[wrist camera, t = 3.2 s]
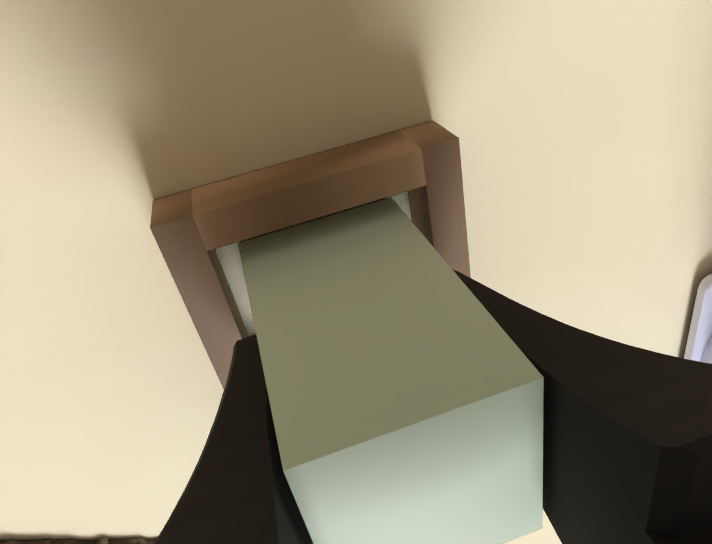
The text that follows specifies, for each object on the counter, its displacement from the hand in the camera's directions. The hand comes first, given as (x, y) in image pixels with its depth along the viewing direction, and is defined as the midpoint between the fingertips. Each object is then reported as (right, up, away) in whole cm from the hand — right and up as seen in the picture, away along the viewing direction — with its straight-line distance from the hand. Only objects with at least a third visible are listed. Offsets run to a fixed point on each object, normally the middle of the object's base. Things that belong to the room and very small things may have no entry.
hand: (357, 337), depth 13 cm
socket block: (-1, +1, +2) cm, 3 cm away
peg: (-1, +1, +2) cm, 2 cm away
